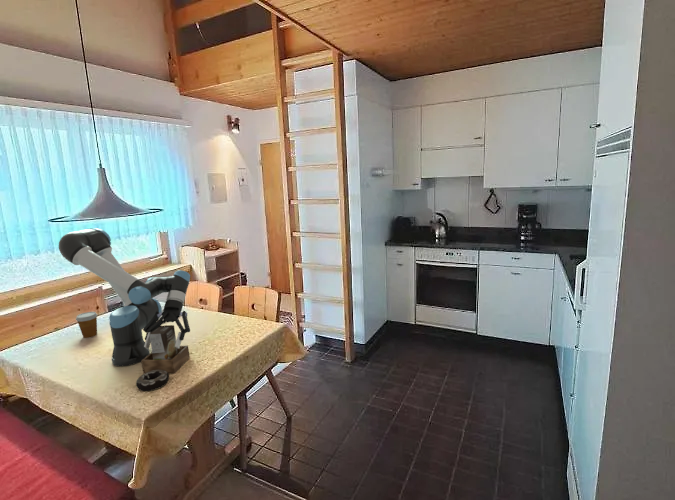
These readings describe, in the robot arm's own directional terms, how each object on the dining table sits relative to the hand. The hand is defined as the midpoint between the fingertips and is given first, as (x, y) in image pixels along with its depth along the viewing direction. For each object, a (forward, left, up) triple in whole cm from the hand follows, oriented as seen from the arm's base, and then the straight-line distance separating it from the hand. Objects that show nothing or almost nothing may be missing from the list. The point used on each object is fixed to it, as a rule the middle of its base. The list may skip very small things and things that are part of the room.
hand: (161, 347), depth 155 cm
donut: (+2, -12, -10) cm, 16 cm away
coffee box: (0, +2, -9) cm, 9 cm away
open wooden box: (0, +2, -9) cm, 10 cm away
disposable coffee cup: (-61, +35, -10) cm, 71 cm away
